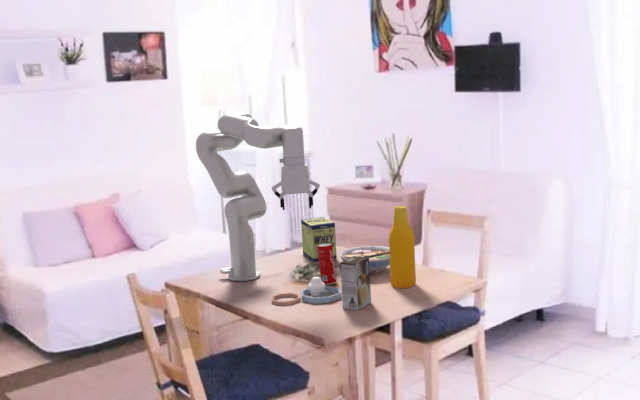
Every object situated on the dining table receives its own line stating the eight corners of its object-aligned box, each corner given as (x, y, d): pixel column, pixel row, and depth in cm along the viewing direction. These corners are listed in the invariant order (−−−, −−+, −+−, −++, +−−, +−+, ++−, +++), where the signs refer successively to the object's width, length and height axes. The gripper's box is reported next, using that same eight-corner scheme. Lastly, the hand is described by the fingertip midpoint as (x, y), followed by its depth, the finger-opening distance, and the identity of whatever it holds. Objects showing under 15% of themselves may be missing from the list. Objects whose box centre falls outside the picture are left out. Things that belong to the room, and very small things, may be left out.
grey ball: (319, 301, 270) (319, 291, 269) (319, 298, 274) (318, 288, 273) (330, 301, 270) (329, 291, 270) (329, 298, 274) (328, 288, 273)
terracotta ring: (271, 305, 269) (271, 302, 268) (271, 297, 278) (271, 294, 278) (300, 303, 269) (300, 300, 269) (299, 295, 279) (299, 292, 279)
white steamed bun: (325, 292, 281) (324, 273, 280) (326, 297, 275) (325, 278, 274) (308, 293, 281) (307, 274, 280) (308, 298, 275) (307, 279, 273)
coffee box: (355, 300, 270) (353, 255, 267) (371, 302, 266) (369, 257, 263) (341, 308, 262) (339, 262, 259) (358, 310, 258) (356, 263, 256)
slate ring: (302, 304, 268) (301, 298, 268) (301, 292, 282) (300, 287, 281) (342, 301, 269) (341, 296, 268) (339, 290, 282) (338, 284, 282)
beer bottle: (404, 280, 291) (401, 203, 286) (421, 284, 283) (418, 206, 278) (385, 285, 286) (382, 207, 280) (402, 290, 278) (399, 210, 273)
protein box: (313, 262, 324) (311, 225, 321) (302, 254, 338) (300, 219, 335) (337, 259, 327) (335, 222, 324) (325, 251, 341) (323, 216, 339)
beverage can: (335, 285, 289) (333, 246, 286) (317, 285, 290) (315, 246, 287) (337, 280, 294) (335, 242, 292) (321, 280, 296) (318, 242, 293)
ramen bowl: (378, 259, 322) (377, 240, 320) (412, 270, 302) (412, 250, 301) (327, 270, 309) (326, 250, 308) (359, 283, 290) (358, 261, 288)
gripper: (269, 164, 273) (272, 212, 276) (318, 161, 274) (321, 209, 277) (269, 161, 281) (273, 208, 284) (317, 158, 282) (320, 205, 285)
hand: (297, 208), depth 280 cm, fingers open, 9 cm apart
